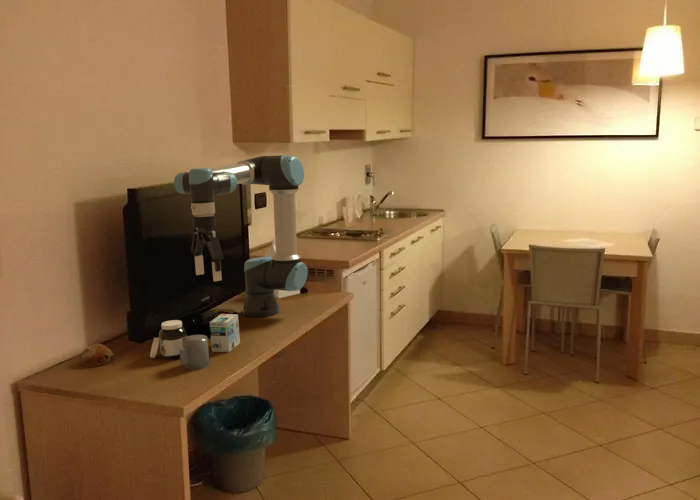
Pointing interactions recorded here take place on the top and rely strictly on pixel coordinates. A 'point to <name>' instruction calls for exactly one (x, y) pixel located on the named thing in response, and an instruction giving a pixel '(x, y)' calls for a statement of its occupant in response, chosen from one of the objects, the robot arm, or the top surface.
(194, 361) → the grey mug
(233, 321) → the light bulb box
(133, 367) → the top surface
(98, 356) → the bread roll
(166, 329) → the spread jar
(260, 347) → the top surface
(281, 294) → the milk
